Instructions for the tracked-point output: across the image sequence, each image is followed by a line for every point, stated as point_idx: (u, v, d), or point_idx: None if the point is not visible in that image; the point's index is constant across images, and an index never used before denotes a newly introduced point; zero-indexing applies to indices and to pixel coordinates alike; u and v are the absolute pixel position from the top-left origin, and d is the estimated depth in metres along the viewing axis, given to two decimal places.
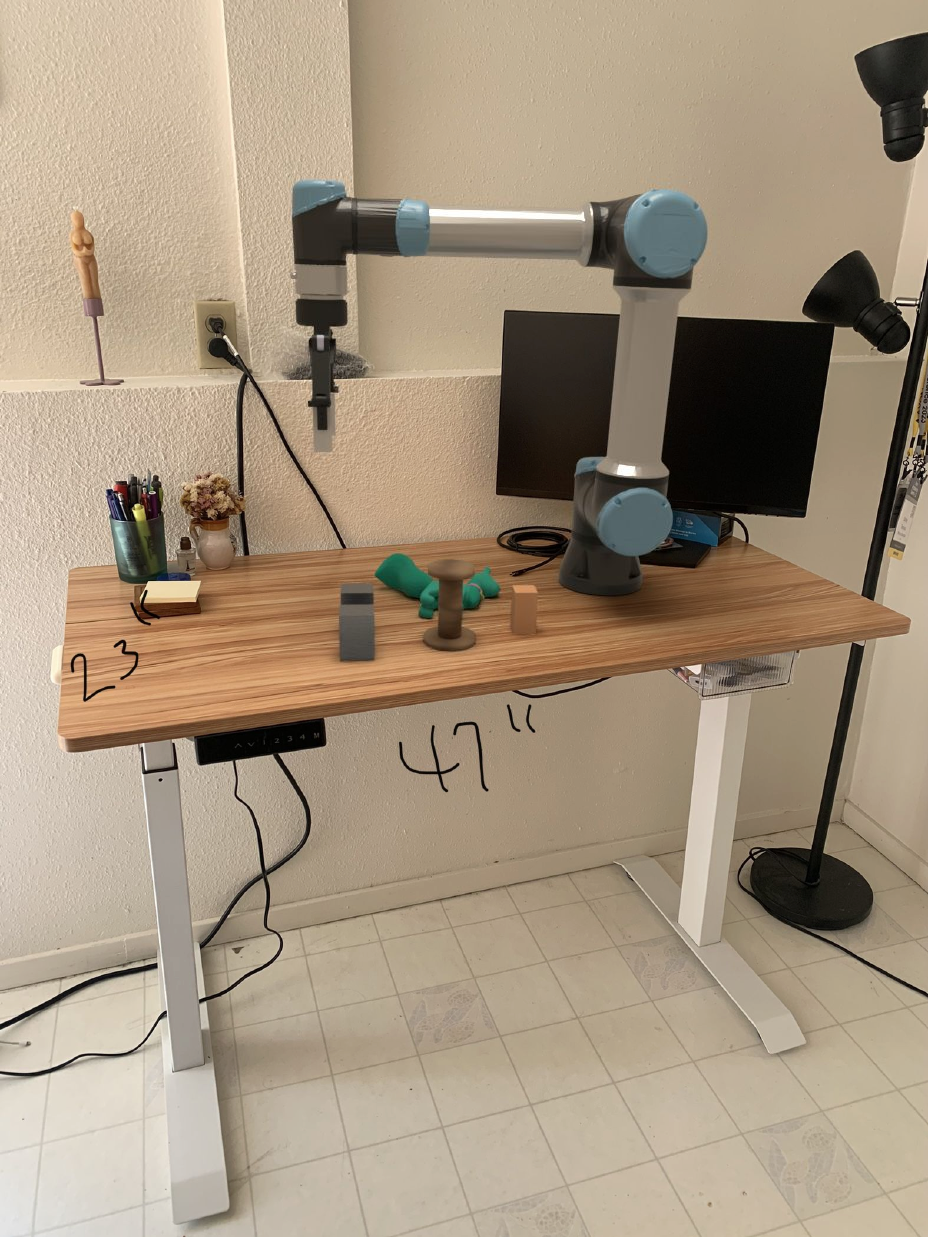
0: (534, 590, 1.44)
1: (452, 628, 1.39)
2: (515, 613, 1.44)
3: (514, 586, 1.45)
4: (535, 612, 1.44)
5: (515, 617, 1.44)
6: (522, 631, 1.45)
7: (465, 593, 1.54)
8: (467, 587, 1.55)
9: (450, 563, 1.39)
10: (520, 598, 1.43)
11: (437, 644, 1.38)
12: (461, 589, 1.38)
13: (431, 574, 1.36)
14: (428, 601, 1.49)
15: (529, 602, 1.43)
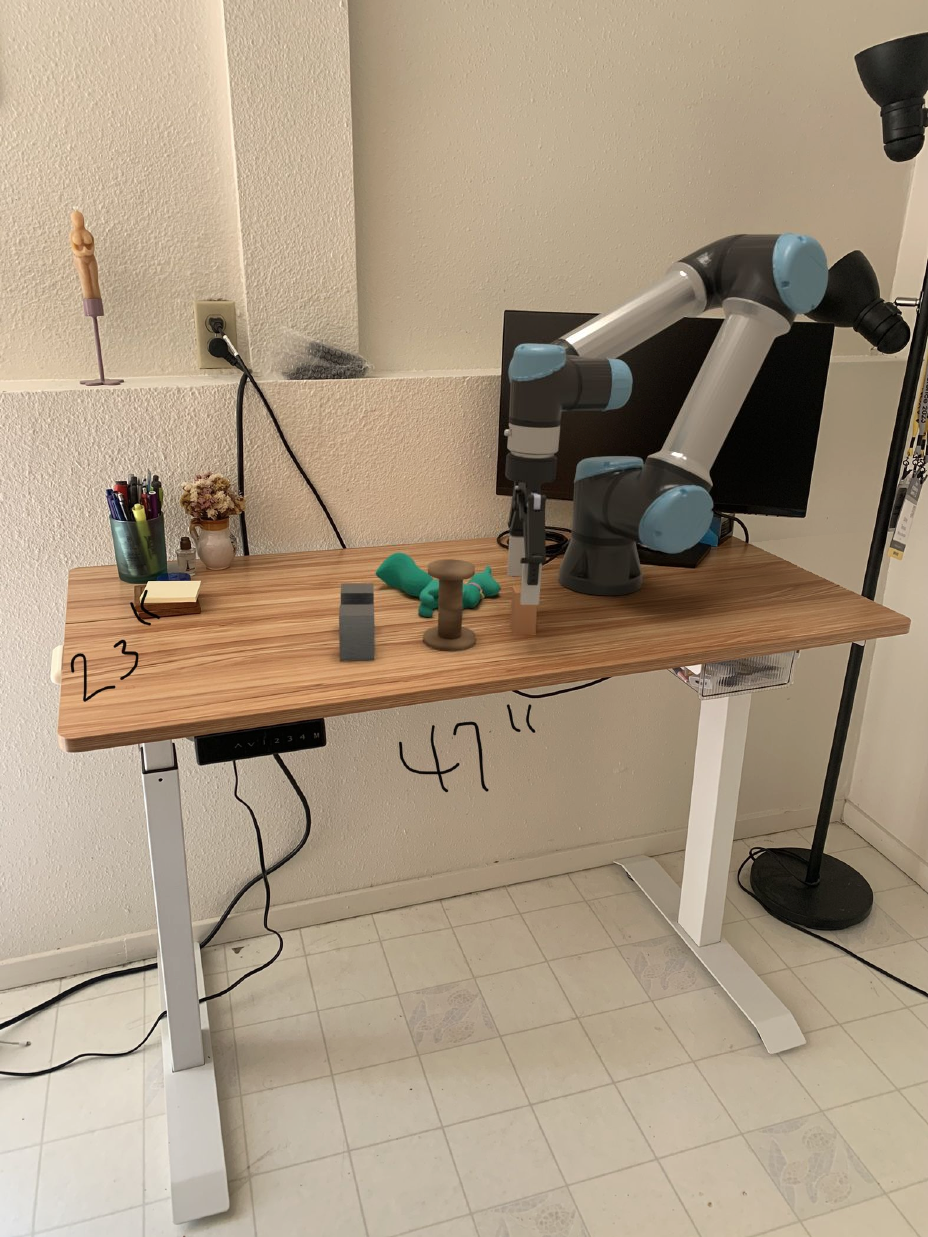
0: None
1: (452, 628, 1.39)
2: (515, 613, 1.44)
3: (514, 586, 1.45)
4: (535, 612, 1.44)
5: (515, 617, 1.44)
6: (522, 631, 1.45)
7: (465, 592, 1.54)
8: (467, 586, 1.55)
9: (450, 563, 1.39)
10: None
11: (437, 644, 1.38)
12: (461, 589, 1.38)
13: (431, 574, 1.36)
14: (427, 600, 1.50)
15: None
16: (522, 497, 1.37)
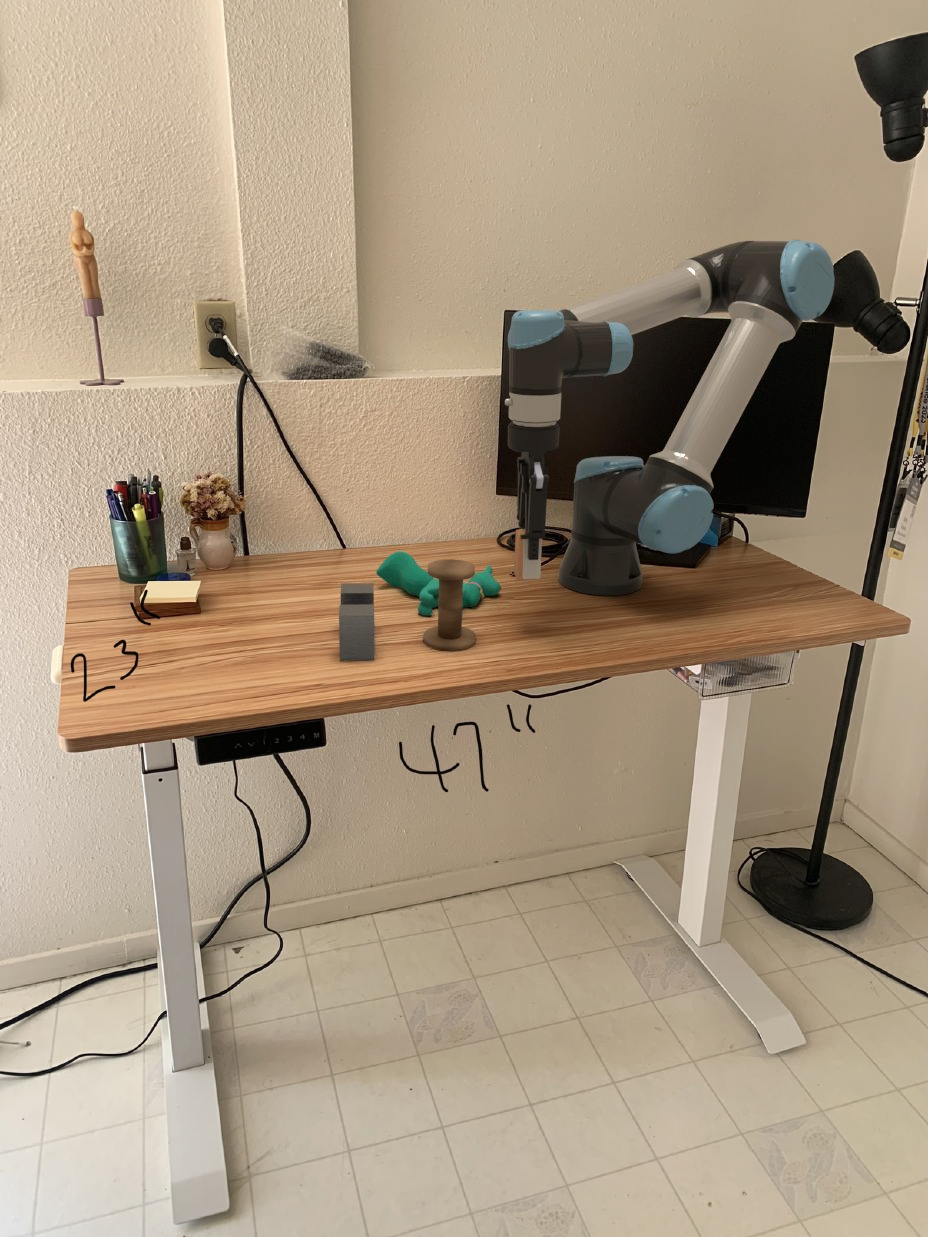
0: None
1: (452, 628, 1.39)
2: (519, 558, 1.41)
3: (518, 530, 1.42)
4: None
5: (519, 562, 1.41)
6: None
7: (464, 591, 1.54)
8: (467, 586, 1.55)
9: (450, 563, 1.39)
10: None
11: (437, 644, 1.38)
12: (461, 589, 1.38)
13: (431, 574, 1.36)
14: (427, 599, 1.50)
15: None
16: (525, 469, 1.36)
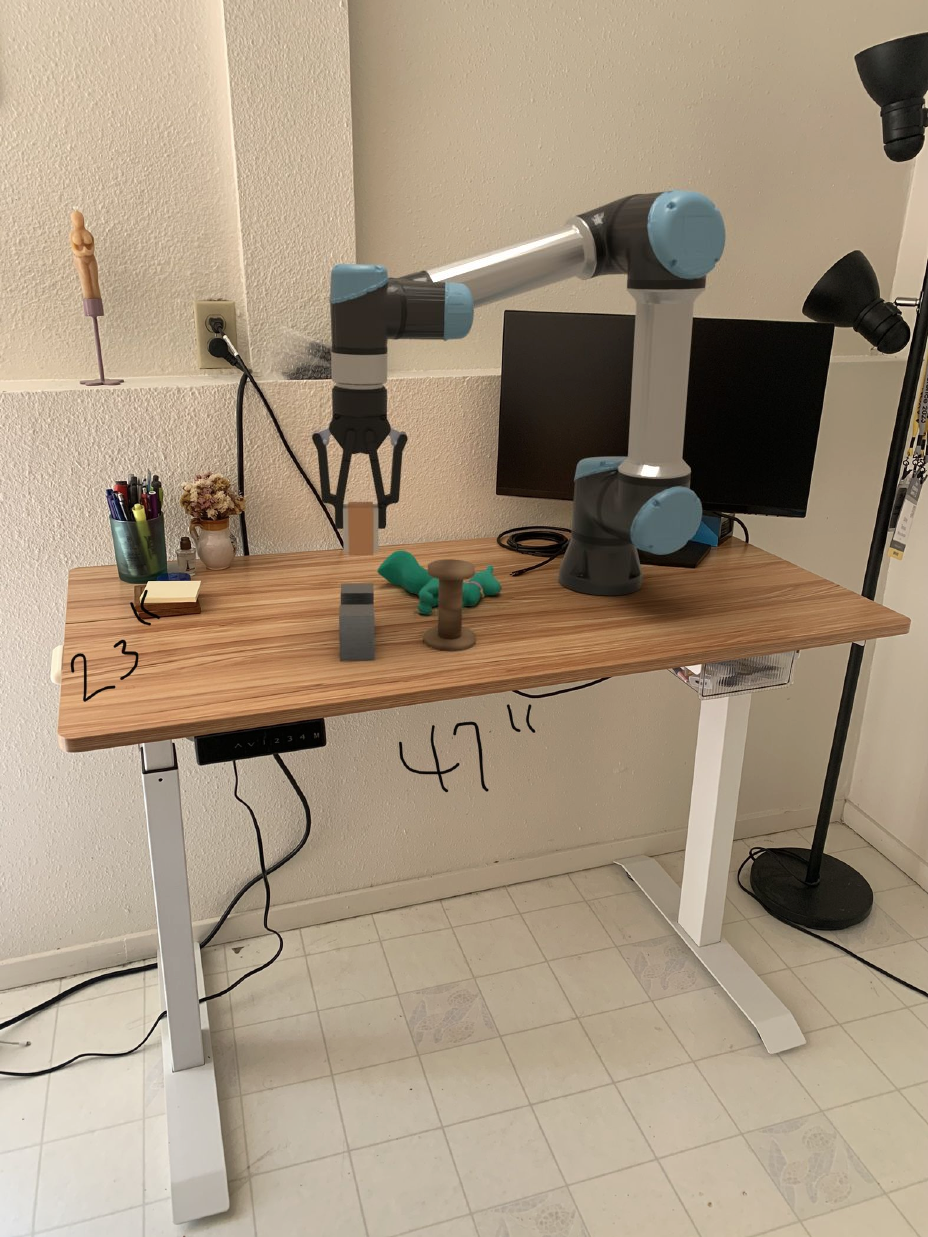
0: (355, 507, 1.31)
1: (452, 628, 1.39)
2: None
3: (368, 502, 1.34)
4: None
5: None
6: None
7: (464, 591, 1.55)
8: (467, 585, 1.56)
9: (450, 563, 1.39)
10: None
11: (437, 644, 1.38)
12: (461, 589, 1.38)
13: (431, 574, 1.36)
14: (426, 598, 1.50)
15: None
16: None
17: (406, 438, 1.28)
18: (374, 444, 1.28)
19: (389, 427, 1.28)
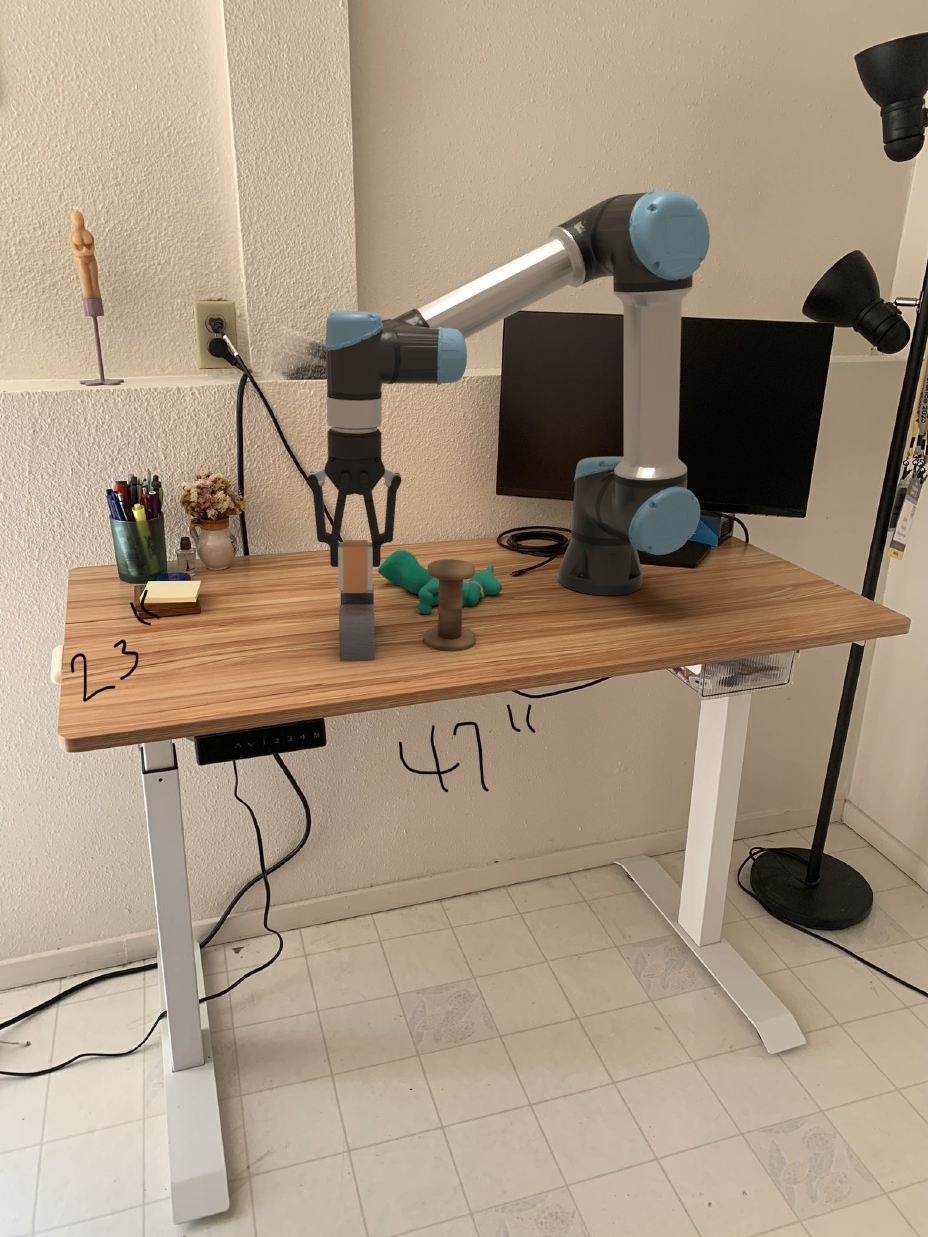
0: (350, 546, 1.34)
1: (452, 628, 1.39)
2: None
3: (363, 540, 1.37)
4: (343, 568, 1.35)
5: None
6: None
7: (464, 590, 1.55)
8: (467, 584, 1.56)
9: (450, 563, 1.39)
10: None
11: (437, 644, 1.38)
12: (461, 589, 1.38)
13: (431, 574, 1.36)
14: (426, 597, 1.51)
15: None
16: None
17: (400, 480, 1.31)
18: (368, 485, 1.30)
19: (383, 469, 1.31)
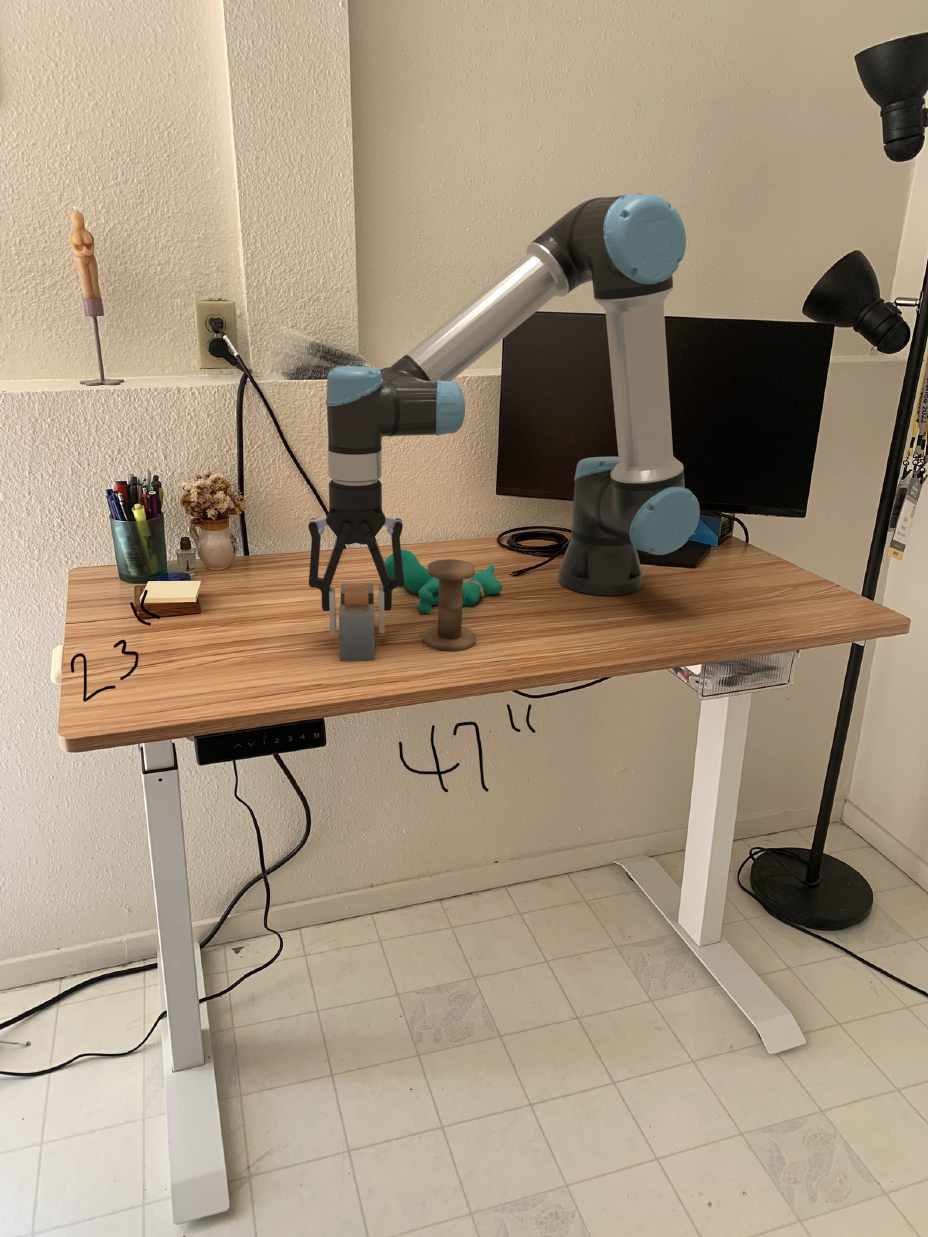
0: (351, 591, 1.36)
1: (452, 628, 1.39)
2: None
3: (364, 585, 1.39)
4: None
5: None
6: None
7: (464, 590, 1.55)
8: (467, 584, 1.56)
9: (450, 563, 1.39)
10: None
11: (437, 644, 1.38)
12: (461, 589, 1.38)
13: (431, 574, 1.36)
14: (426, 597, 1.51)
15: None
16: None
17: (401, 525, 1.33)
18: (371, 534, 1.33)
19: (383, 518, 1.33)
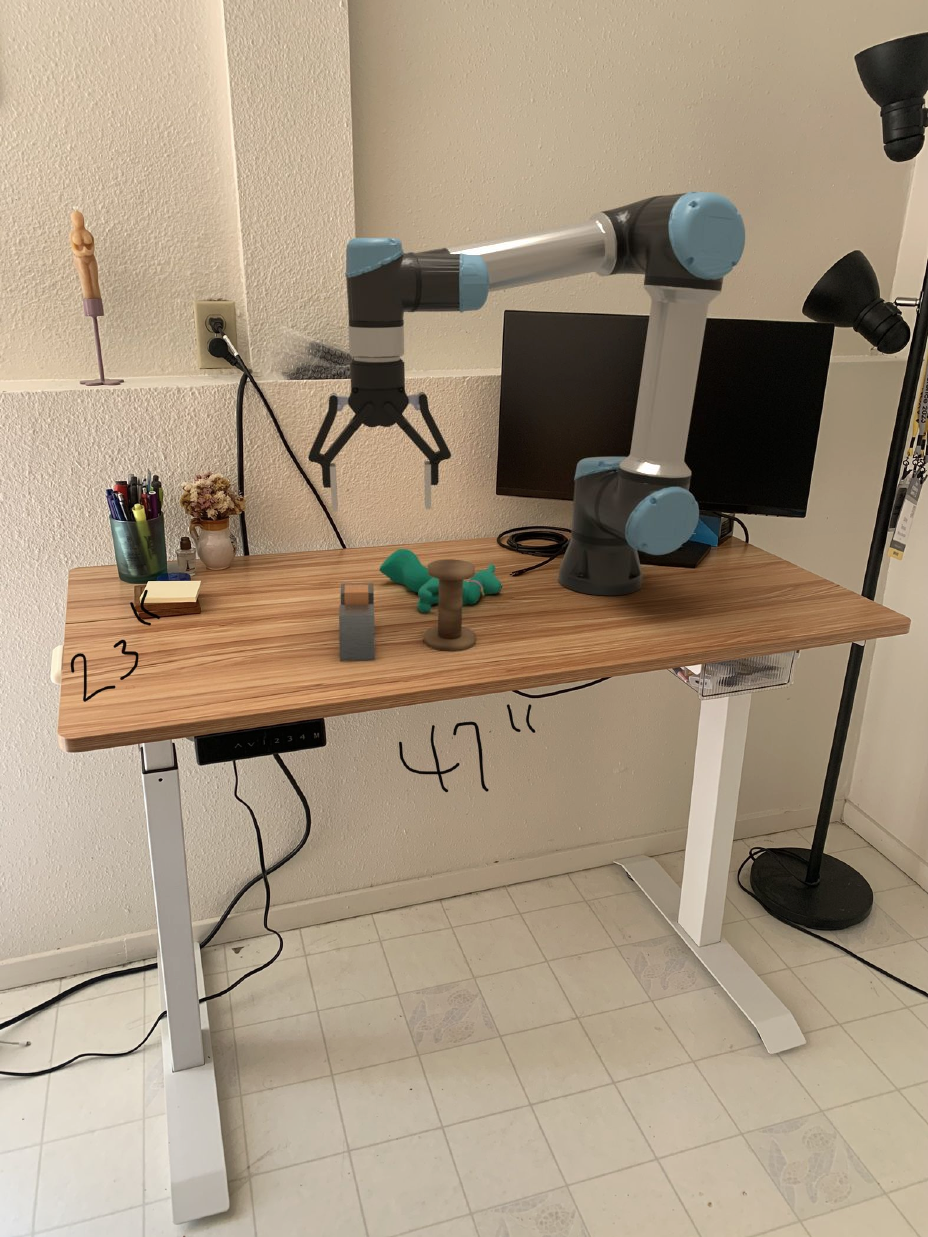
0: (351, 591, 1.36)
1: (452, 628, 1.39)
2: None
3: (364, 585, 1.39)
4: None
5: None
6: None
7: (464, 589, 1.55)
8: (467, 583, 1.56)
9: (450, 563, 1.39)
10: None
11: (437, 644, 1.38)
12: (461, 589, 1.38)
13: (431, 574, 1.36)
14: (425, 596, 1.51)
15: None
16: None
17: (425, 396, 1.29)
18: (397, 413, 1.29)
19: (405, 396, 1.29)
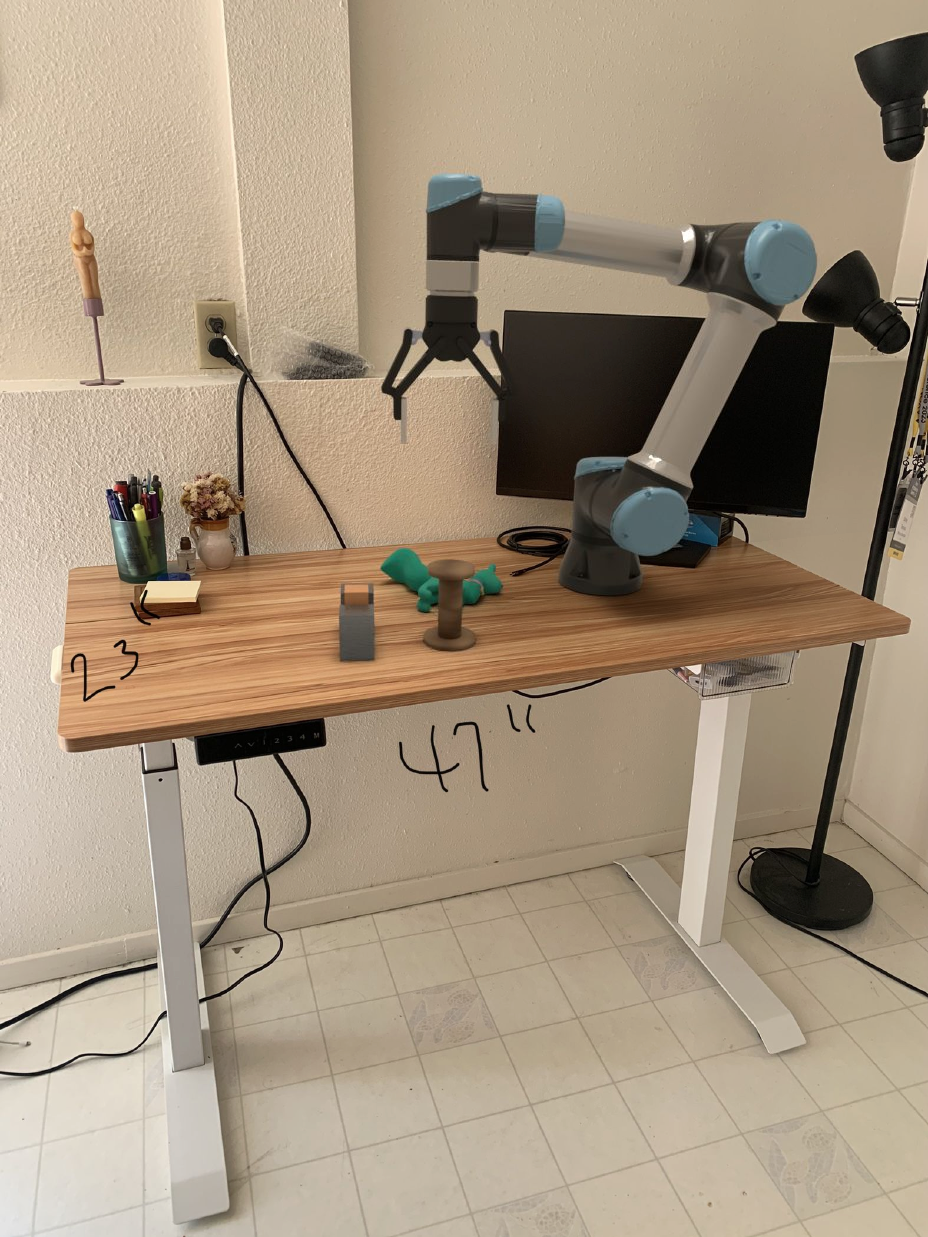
0: (351, 591, 1.36)
1: (452, 628, 1.39)
2: None
3: (364, 585, 1.39)
4: None
5: None
6: None
7: (464, 589, 1.56)
8: (467, 583, 1.57)
9: (450, 563, 1.39)
10: None
11: (437, 644, 1.38)
12: (461, 589, 1.38)
13: (431, 574, 1.36)
14: (425, 595, 1.52)
15: None
16: None
17: (496, 333, 1.34)
18: (469, 347, 1.34)
19: (477, 332, 1.34)
